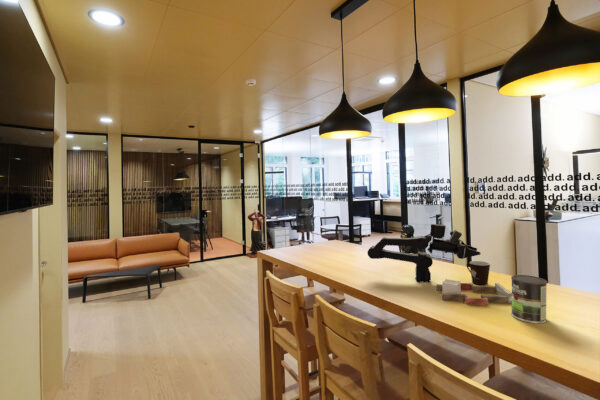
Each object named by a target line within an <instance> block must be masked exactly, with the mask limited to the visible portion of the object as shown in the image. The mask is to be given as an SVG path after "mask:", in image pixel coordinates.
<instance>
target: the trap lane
mask: <svg viewBox="0 0 600 400" xmlns="http://www.w3.org/2000/svg"><path fill="white" fill-rule="evenodd" d="M435 288H436V292H437V291H438V292H439V291H440V292H442V284H441V283H440V284H437V283H436V284H435ZM463 292H465V293H463ZM466 292H467V293H482V294H480V297H468V295H466ZM483 293H485V294H483ZM488 293H490V294H488ZM492 294H493V295H492ZM495 294H497V295H495ZM441 299H442V301H453V302H454V301H455V302H463V303H464V304H465V305H471V306H472V305H473V306H475V305H476V306H489V303H493V304H494V303H495V304H498V303H499V304H512V291H509V290H508V289H507V288H506V287H504V286H503V285H501V284H500V283H498V282H494V286H493V285H488V286H487V285H485V286H481V285H475V284H473V283H472V282H461V294H449V293H441Z"/></svg>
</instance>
